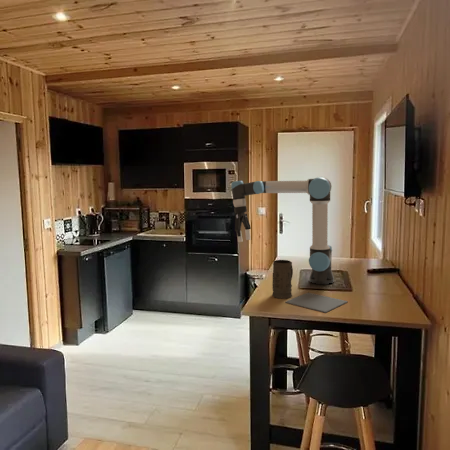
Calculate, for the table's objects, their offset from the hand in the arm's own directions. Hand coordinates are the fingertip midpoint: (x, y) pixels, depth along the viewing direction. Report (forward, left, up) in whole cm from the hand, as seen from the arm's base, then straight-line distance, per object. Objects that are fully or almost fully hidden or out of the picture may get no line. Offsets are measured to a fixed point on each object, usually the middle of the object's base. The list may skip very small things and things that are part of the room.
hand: (244, 240), depth 256 cm
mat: (-47, +26, -26) cm, 60 cm away
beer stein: (-28, +17, -27) cm, 42 cm away
